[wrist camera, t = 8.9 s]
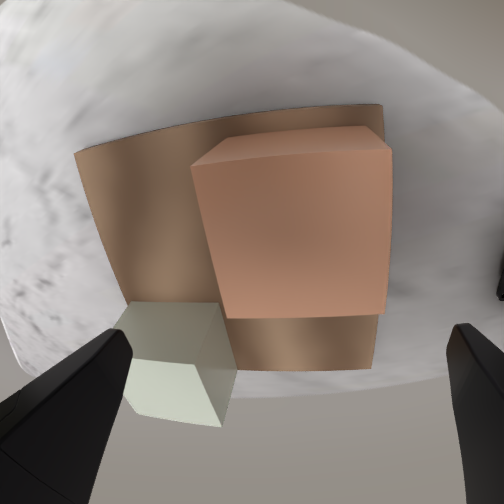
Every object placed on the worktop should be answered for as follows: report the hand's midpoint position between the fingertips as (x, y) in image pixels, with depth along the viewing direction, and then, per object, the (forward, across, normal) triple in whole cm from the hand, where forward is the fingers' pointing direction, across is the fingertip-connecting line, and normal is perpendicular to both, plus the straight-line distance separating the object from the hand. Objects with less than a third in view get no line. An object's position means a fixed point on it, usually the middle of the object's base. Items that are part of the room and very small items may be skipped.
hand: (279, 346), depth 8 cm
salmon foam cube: (+11, 0, 0) cm, 11 cm away
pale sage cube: (+11, +9, +11) cm, 18 cm away
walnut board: (+12, +4, +5) cm, 13 cm away
